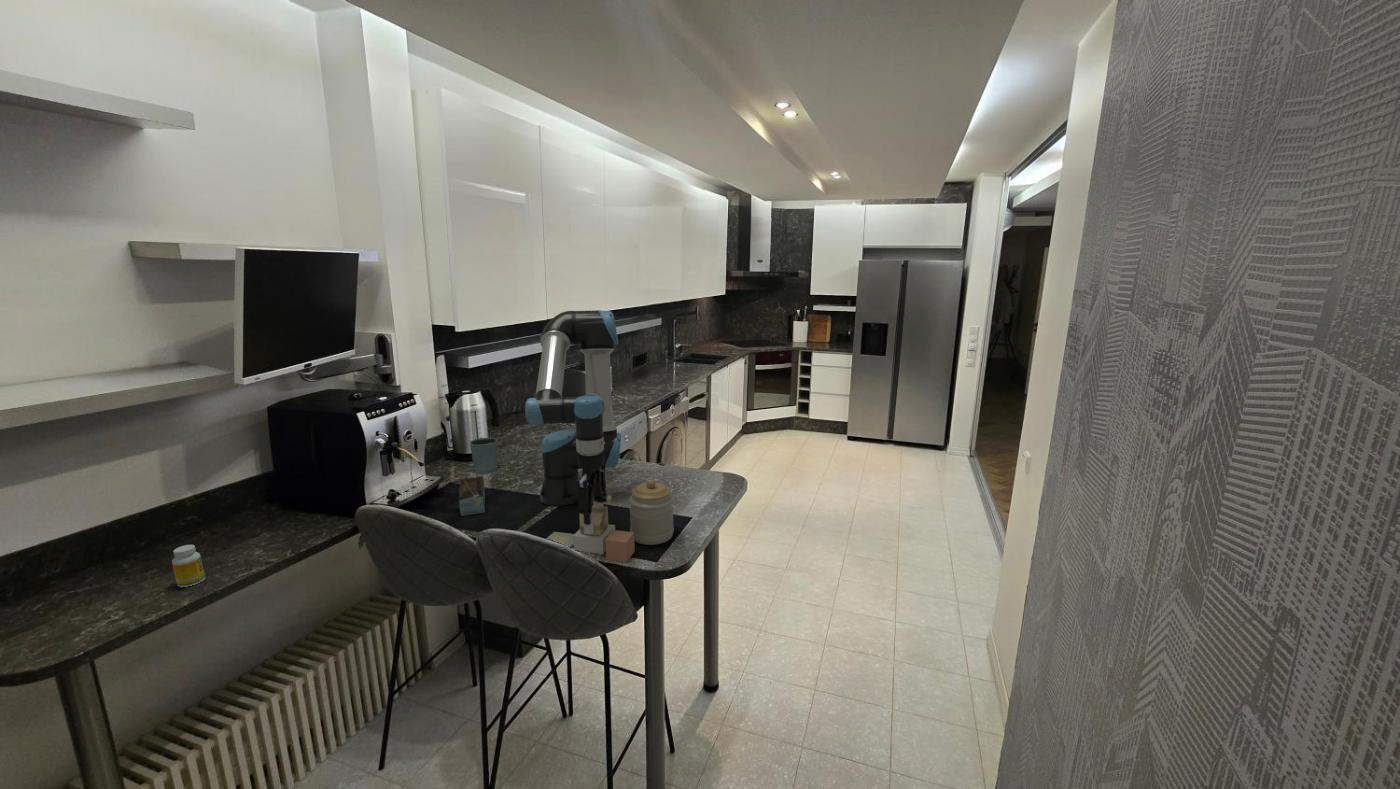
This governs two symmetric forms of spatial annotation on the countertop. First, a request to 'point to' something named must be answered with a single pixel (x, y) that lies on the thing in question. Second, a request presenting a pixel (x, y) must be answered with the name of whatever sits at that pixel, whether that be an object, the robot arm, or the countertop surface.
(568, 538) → the card
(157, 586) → the countertop surface
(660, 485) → the jar
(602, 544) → the grey base block
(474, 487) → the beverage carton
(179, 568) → the supplement bottle
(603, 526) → the maple block
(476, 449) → the teal cup
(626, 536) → the terracotta block
